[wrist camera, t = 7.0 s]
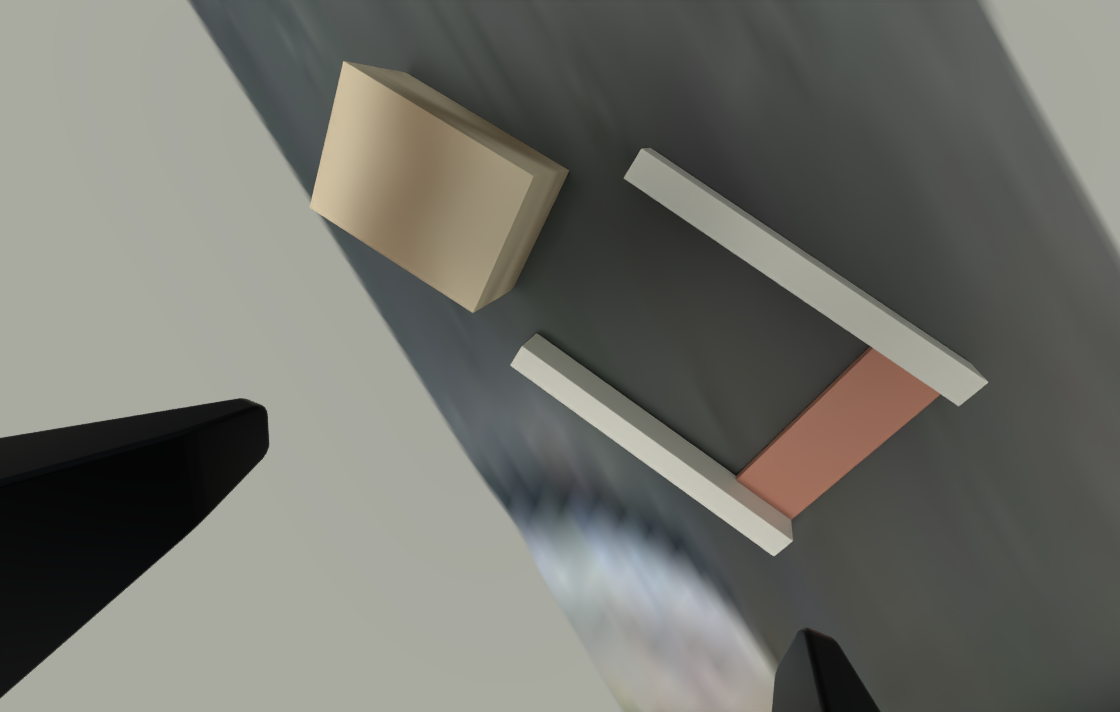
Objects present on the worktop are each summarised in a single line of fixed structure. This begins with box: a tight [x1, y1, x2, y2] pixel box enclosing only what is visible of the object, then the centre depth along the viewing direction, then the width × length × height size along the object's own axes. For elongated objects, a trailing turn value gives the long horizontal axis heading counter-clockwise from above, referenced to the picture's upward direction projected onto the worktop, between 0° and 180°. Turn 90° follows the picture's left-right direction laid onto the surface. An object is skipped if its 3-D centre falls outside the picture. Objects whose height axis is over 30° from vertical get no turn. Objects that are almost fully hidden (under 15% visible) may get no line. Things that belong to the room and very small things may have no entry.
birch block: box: [310, 61, 569, 313], centre depth 19 cm, size 7×5×4 cm
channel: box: [510, 148, 988, 556], centre depth 18 cm, size 12×9×2 cm
